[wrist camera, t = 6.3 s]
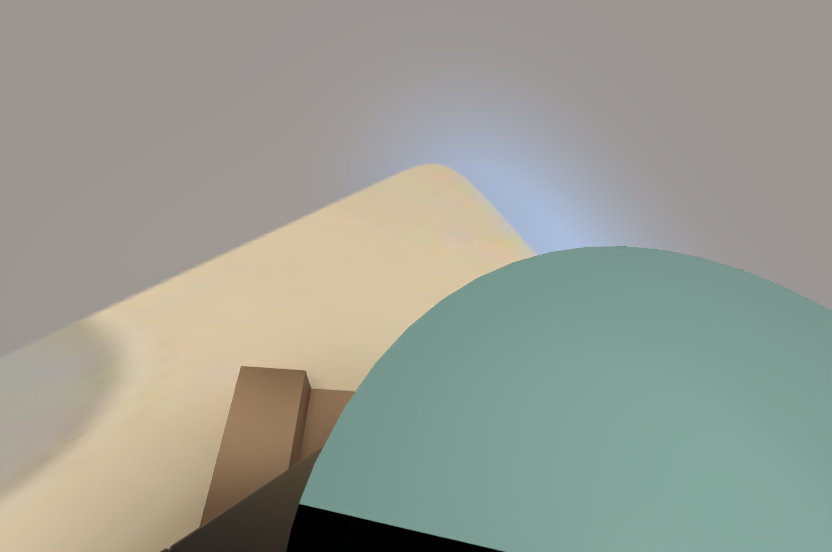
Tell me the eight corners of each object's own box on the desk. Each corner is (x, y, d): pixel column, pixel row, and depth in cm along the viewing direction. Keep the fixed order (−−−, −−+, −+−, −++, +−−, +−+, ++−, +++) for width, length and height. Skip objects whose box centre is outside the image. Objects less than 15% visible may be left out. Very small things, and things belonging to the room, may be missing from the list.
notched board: (592, 761, 15) (656, 824, 12) (174, 765, 14) (119, 836, 10) (547, 411, 21) (581, 390, 18) (259, 392, 20) (240, 366, 17)
